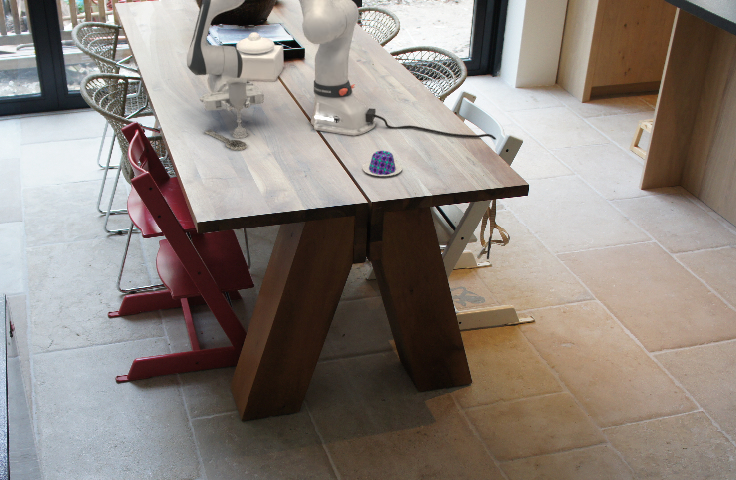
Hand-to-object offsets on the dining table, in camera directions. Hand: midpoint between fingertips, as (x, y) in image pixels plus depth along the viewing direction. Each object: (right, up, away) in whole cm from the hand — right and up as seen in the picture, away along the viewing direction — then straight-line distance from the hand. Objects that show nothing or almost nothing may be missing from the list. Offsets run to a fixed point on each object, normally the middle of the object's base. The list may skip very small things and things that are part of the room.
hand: (239, 106), depth 275 cm
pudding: (+45, -25, -19) cm, 55 cm away
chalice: (0, -8, +7) cm, 10 cm away
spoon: (-5, -10, +3) cm, 12 cm away
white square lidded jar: (+3, +30, +60) cm, 67 cm away
